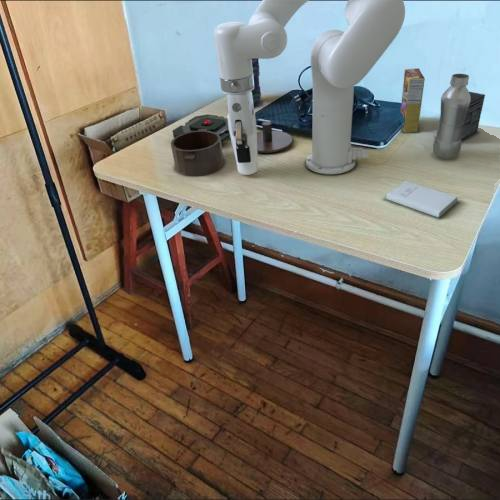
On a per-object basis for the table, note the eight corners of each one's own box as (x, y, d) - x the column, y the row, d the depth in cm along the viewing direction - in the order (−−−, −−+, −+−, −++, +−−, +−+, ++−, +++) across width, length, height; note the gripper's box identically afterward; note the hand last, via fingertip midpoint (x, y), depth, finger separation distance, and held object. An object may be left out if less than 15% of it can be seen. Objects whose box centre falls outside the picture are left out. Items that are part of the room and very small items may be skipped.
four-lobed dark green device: (217, 151, 129) (215, 136, 126) (167, 142, 137) (164, 127, 134) (248, 127, 141) (247, 113, 138) (201, 120, 149) (199, 106, 146)
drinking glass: (258, 177, 113) (252, 118, 104) (232, 177, 114) (223, 119, 105) (263, 164, 118) (257, 108, 109) (238, 164, 120) (230, 109, 111)
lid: (293, 133, 135) (292, 113, 131) (291, 154, 124) (291, 132, 120) (246, 134, 137) (244, 114, 133) (240, 155, 126) (238, 134, 122)
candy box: (398, 121, 137) (404, 68, 127) (413, 120, 136) (420, 67, 127) (402, 132, 130) (409, 78, 120) (417, 132, 129) (426, 77, 120)
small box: (456, 126, 130) (464, 89, 124) (478, 132, 126) (487, 94, 120) (434, 137, 126) (441, 99, 119) (456, 144, 121) (464, 105, 115)
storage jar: (267, 104, 157) (264, 58, 148) (242, 111, 153) (238, 65, 144) (251, 97, 164) (248, 53, 155) (228, 103, 160) (223, 59, 151)
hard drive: (438, 219, 94) (385, 199, 102) (456, 202, 99) (404, 185, 106) (439, 212, 93) (386, 193, 101) (458, 196, 98) (405, 179, 105)
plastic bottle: (450, 164, 113) (466, 82, 101) (425, 156, 117) (439, 76, 105) (464, 155, 116) (482, 75, 104) (440, 148, 120) (454, 70, 108)
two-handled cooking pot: (227, 149, 130) (225, 125, 125) (217, 180, 115) (214, 155, 111) (183, 150, 131) (179, 127, 127) (167, 181, 117) (162, 156, 112)
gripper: (249, 95, 96) (257, 171, 106) (257, 70, 109) (263, 140, 120) (214, 97, 97) (226, 173, 107) (226, 72, 110) (235, 142, 121)
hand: (246, 155), depth 114 cm, fingers closed on drinking glass, 6 cm apart
